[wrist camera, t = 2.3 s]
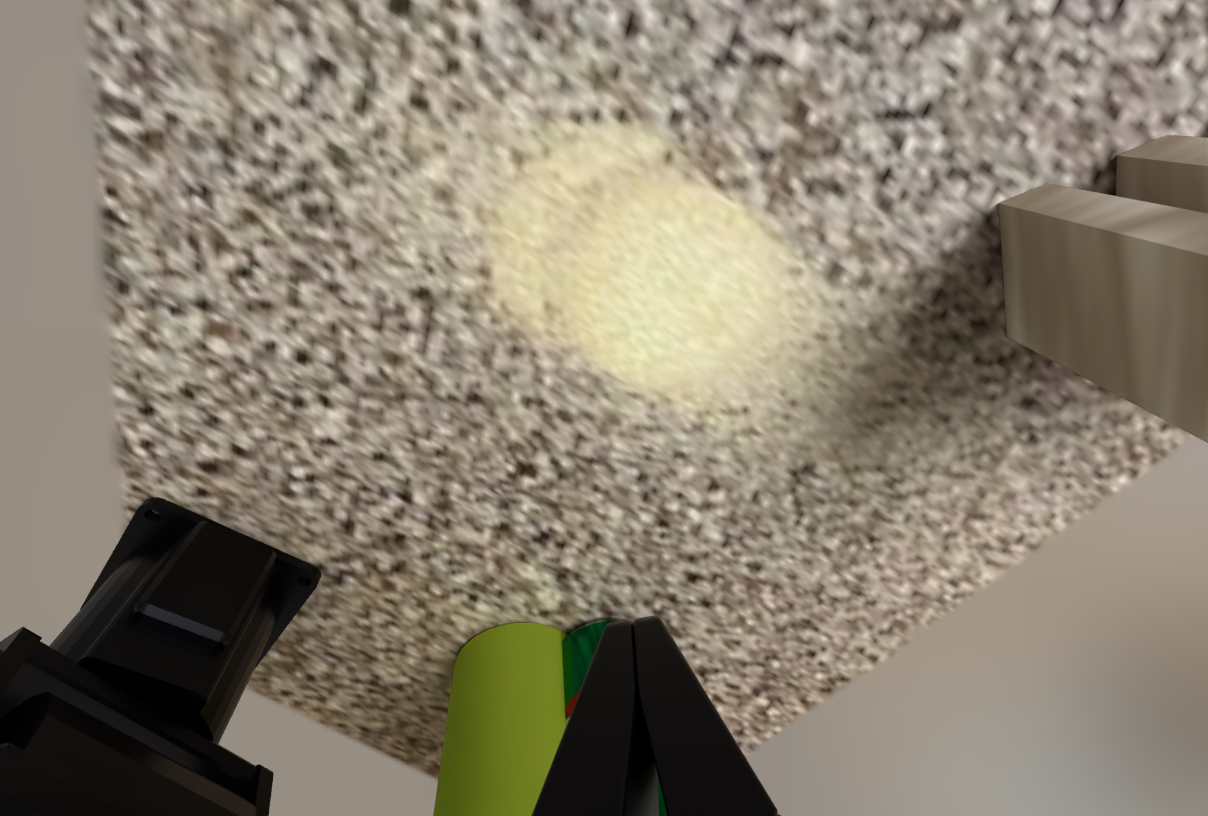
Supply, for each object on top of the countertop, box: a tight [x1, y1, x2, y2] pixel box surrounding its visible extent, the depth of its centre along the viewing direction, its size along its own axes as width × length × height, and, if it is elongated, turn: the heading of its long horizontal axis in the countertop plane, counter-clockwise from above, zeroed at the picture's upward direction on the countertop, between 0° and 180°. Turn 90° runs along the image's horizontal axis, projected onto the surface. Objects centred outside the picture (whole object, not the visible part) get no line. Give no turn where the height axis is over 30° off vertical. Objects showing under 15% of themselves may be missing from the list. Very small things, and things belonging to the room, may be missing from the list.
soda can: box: [562, 618, 667, 816], centre depth 22 cm, size 5×5×12 cm
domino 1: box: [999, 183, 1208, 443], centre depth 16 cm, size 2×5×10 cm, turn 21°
